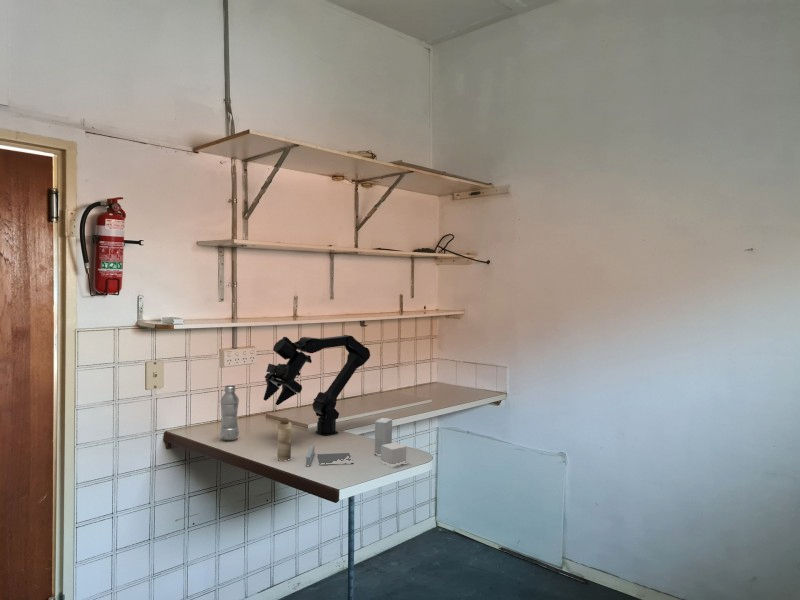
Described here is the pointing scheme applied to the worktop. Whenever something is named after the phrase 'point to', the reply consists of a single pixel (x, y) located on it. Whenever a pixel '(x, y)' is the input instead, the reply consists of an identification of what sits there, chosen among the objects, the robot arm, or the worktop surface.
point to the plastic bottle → (229, 414)
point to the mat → (332, 457)
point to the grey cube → (393, 453)
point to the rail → (310, 454)
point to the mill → (284, 439)
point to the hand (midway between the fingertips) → (270, 402)
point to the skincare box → (382, 433)
